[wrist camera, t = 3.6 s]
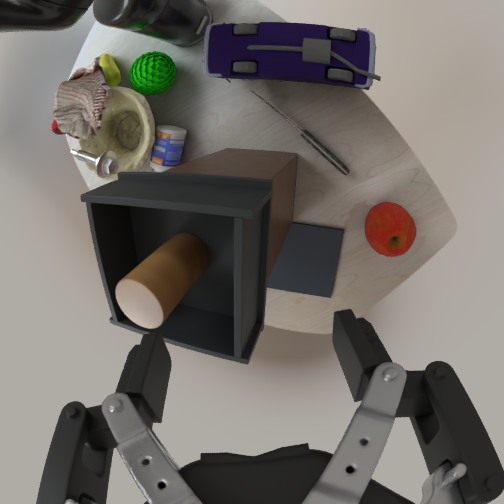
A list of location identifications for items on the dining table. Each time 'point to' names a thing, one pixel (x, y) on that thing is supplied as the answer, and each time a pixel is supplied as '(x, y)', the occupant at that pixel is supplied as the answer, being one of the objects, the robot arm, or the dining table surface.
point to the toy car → (291, 53)
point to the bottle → (110, 78)
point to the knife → (316, 144)
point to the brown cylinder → (162, 280)
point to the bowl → (124, 131)
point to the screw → (99, 161)
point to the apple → (390, 229)
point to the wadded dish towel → (82, 102)
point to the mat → (307, 260)
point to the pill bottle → (167, 147)
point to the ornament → (152, 73)
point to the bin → (209, 232)
